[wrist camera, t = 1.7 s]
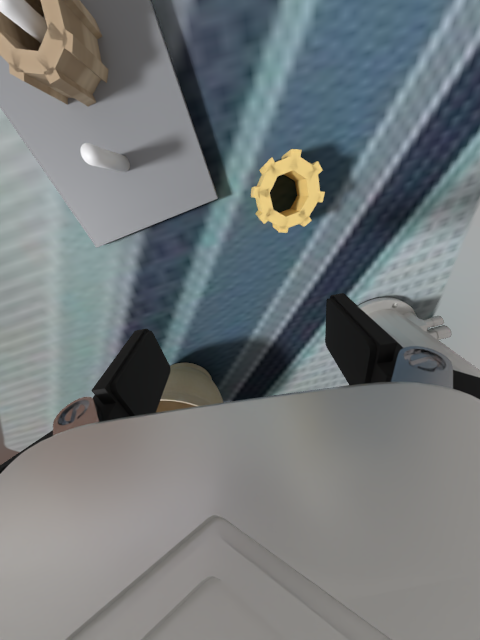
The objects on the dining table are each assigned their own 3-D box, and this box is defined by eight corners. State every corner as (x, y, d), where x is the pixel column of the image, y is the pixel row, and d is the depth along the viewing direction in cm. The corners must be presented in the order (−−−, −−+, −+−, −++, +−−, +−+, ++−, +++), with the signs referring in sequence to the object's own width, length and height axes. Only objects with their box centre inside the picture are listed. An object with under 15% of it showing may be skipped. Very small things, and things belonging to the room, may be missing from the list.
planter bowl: (222, 342, 35) (217, 395, 26) (233, 402, 44) (233, 458, 34) (130, 351, 36) (94, 406, 26) (159, 408, 44) (139, 465, 35)
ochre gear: (304, 147, 22) (319, 137, 18) (313, 214, 25) (327, 218, 21) (244, 172, 23) (246, 167, 19) (260, 233, 26) (265, 240, 22)
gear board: (108, -124, 14) (14, -358, 8) (218, 198, 24) (212, 199, 18) (-60, -1, 17) (-228, -111, 11) (103, 245, 26) (64, 259, 21)
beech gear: (37, -55, 15) (-34, -144, 11) (122, 55, 17) (90, 15, 13) (3, 42, 17) (-66, -3, 13) (82, 126, 19) (45, 109, 16)
